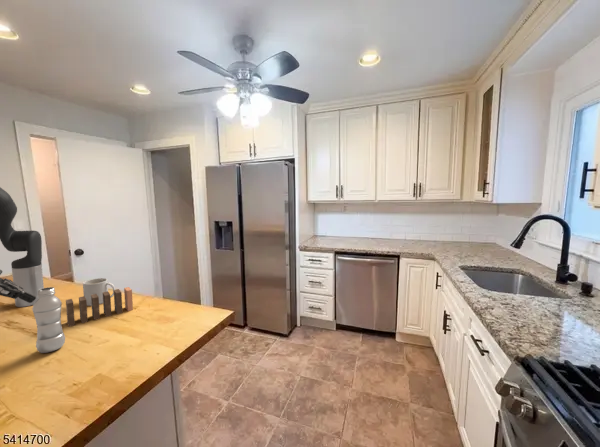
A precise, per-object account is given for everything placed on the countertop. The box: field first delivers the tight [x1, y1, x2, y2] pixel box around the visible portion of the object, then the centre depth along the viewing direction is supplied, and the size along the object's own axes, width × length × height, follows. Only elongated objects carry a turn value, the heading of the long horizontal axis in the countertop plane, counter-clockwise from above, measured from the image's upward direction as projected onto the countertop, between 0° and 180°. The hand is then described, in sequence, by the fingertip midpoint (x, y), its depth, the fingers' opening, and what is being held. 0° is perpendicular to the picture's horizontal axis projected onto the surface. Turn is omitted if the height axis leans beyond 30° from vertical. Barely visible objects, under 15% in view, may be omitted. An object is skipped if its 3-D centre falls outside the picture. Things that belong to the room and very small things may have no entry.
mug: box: [82, 277, 117, 307], centre depth 118 cm, size 11×10×10 cm
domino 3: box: [91, 294, 101, 321], centre depth 103 cm, size 2×5×9 cm, turn 46°
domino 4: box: [102, 290, 112, 318], centre depth 106 cm, size 2×5×9 cm, turn 46°
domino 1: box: [65, 298, 76, 328], centre depth 97 cm, size 2×5×9 cm, turn 46°
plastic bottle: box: [32, 286, 66, 354], centre depth 80 cm, size 6×7×20 cm
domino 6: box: [123, 286, 134, 312], centre depth 111 cm, size 2×5×9 cm, turn 46°
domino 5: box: [113, 288, 123, 315], centre depth 108 cm, size 2×5×9 cm, turn 46°
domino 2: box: [78, 295, 89, 324], centre depth 100 cm, size 2×5×9 cm, turn 46°
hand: (33, 300), depth 90 cm, fingers closed
